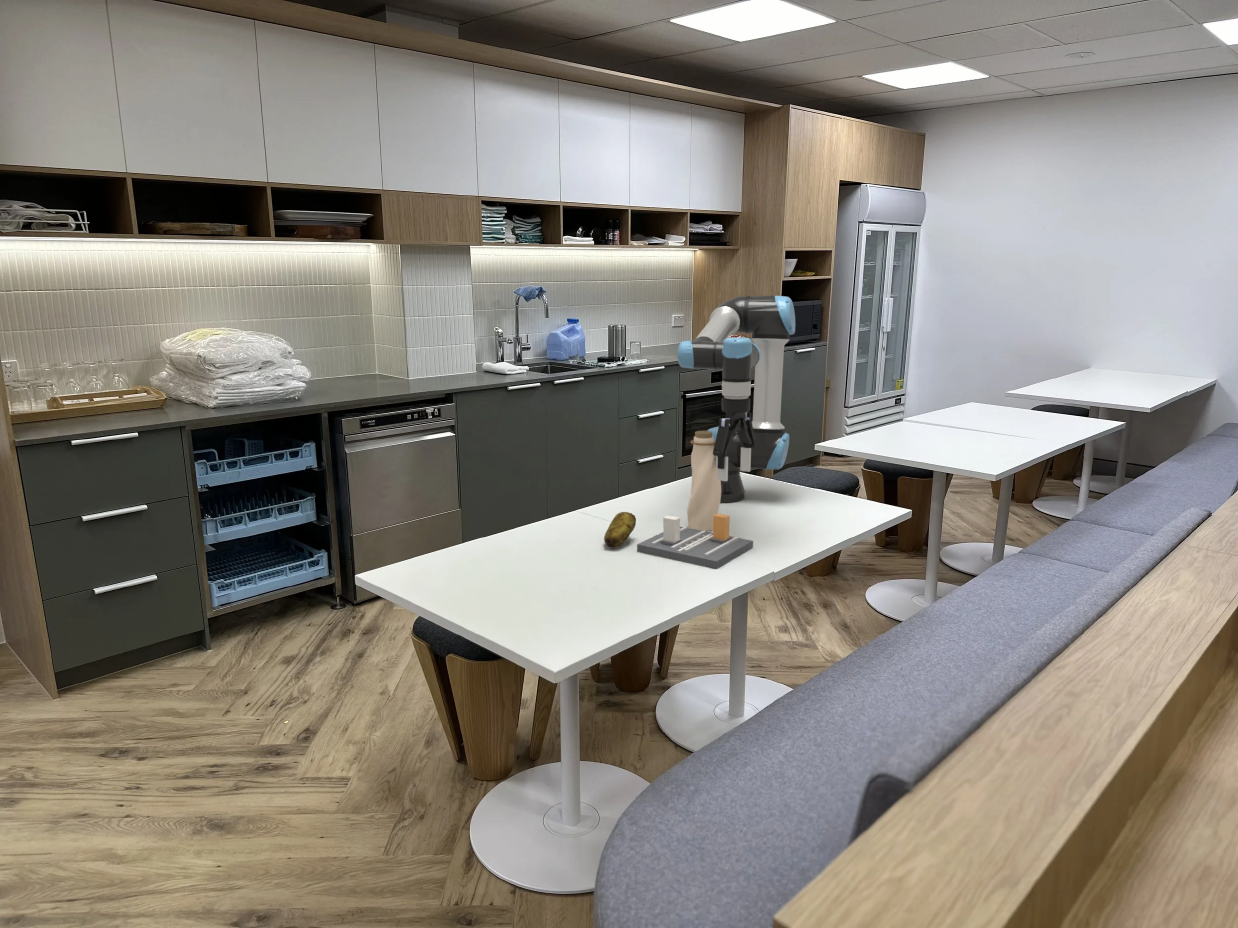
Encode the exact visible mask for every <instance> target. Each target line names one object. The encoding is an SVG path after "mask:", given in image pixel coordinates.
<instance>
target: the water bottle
mask: <svg viewBox="0 0 1238 928" xmlns="http://www.w3.org/2000/svg"><path fill="white" fill-rule="evenodd" d="M690 444H691V445H692V446H693V447H692V452H691V456H690V461H691V463H690V465H691V488H690V498H689V502H688V505H687V509H686V517H687V523H688V528H691V529H696V530H701V531H703V530H704V531H706V532H710V531H713V516H714V515H716V514H719V509H720V506H721V502H720V500H721V481H720V480H717V467H718V457H717V456H716V462H715V456H714V455H713V450H714V445H715V441H714V440H713V436H712V432H711V431H707V430H697V431H695V432H694V436H693V439H692V440H690Z"/></svg>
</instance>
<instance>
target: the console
mask: <svg viewBox="0 0 1238 928" xmlns="http://www.w3.org/2000/svg"><path fill="white" fill-rule="evenodd" d="M729 537H731V540H729V541H727V542H725V543H723V544H722V543H717V542H712V541H711V538H713V532H710V531H704V530H703V531H701V530H696V529H691V528H689V527H688V526H680V539H682V541H681V542H679V543H677V544H675V545H673V546H671V545H666V544H661V540H663V532H660V533H657V534H656V535H654V536H652V537H650V538H647V539H646V540H643V541H641V542H639V543H637V545H636V552H638V553H641V554H646V555H652V556H656V557H660V558H664V559H669V560H674V561H679V562H683V563H689V564H691V565H697V566H701V567H706V568H711V569H715V570H717V569H719V568H721V567H723V566H724V565H726V564H727V563H729V562H731V561H733V560H734V559H736V558H738V557H741V555H743V554H745V553H747V552H748V551H750V550H752V549H753V548H754V540H752V539H748V538H747V539H746V538H741V537H738V536H730V535H729Z"/></svg>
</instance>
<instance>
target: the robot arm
mask: <svg viewBox="0 0 1238 928" xmlns="http://www.w3.org/2000/svg"><path fill="white" fill-rule="evenodd" d="M794 306H795V305H794V303H793V301H792V299H791V298H790V297H789V296H784V295H783V296H782V295H740V296H735V297H733V298H730V299H728V300H725V301H723V303H721V304H719V305H718V306H717V307H715V309H713V311H712V312H711V314H710V316H709V321H708V322H707V324H706V325H705V326H704V328H703V329H702V330H700V332H699V334H698V335H697V336H696V338H695V339H694V340H693V341H692V340H685V341H681V342H680V343H679V345H678V348H677V363H678V365H679V366H680V367H681V368H684V369H691V370H693V369H697V370H700V369H701V370H702V369H703V370H722V378H721V379H722V380H721V381H722V383H721V395H722V396H723V397H722V398H721V411H722V413H723V412H724V413H725V418H723V417H722V418H721V417H720V418H719V419H718V426H716V427H711V428H709V429H707V430H706V431H711V432H712V436H713V440H714V441H715V445H714V450H713V455H714V456H715V462H716V456H717V457H718V467H717V480H720V481H721V500H720V503H722V504H723V503H725V504H726V503H735V502H739V501H742V500H744V499H745V497H746V495H745V493H746V491H745V486H744V484H743V480H742V477H741V471H742V472H748V473H749V472H751V469H760V470H761V469H762V470H766V471H767V470H780V469H782V468H783V466H784V465H785V462H786V459H787V455H788V450H789V446H790V434H789V433H787V432H785V428H786V427H785V426H784V425H783V424H782V423H781V414H782V413H781V409H782V396H783V395H782V392H783V390H782V389H783V374H784V373H783V371H784V354H785V353H784V351H785V345H786V344H788V342H790V336H792V335H795V333H796V314H795V308H794ZM735 334H751V338H748V337H731V336H733V335H735ZM752 369H754V387H753V389H754V390H753V406H752V408H753V409H752V412H750V411H751V398H750V396H752V395H751V394H752V393H751V390H752V389H751V386H752V385H751V382H752V379H751V378H752V376H751V375H752Z"/></svg>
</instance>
